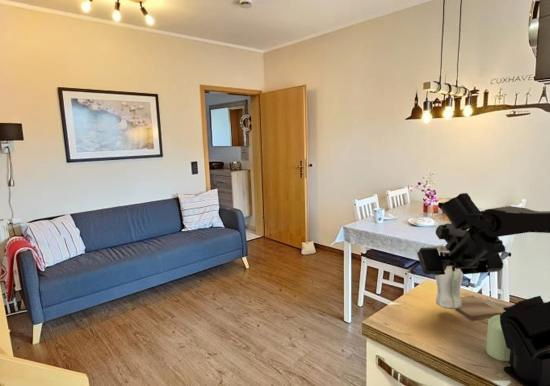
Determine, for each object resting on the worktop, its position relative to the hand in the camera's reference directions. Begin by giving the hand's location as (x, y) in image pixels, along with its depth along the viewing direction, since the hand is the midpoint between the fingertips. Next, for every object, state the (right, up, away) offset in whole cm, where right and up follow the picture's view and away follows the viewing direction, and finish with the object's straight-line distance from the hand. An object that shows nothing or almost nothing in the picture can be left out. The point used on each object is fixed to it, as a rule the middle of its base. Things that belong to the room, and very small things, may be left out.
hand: (445, 273), depth 90 cm
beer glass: (+1, -8, 0) cm, 8 cm away
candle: (+4, -14, -15) cm, 21 cm away
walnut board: (+9, -11, +4) cm, 15 cm away
